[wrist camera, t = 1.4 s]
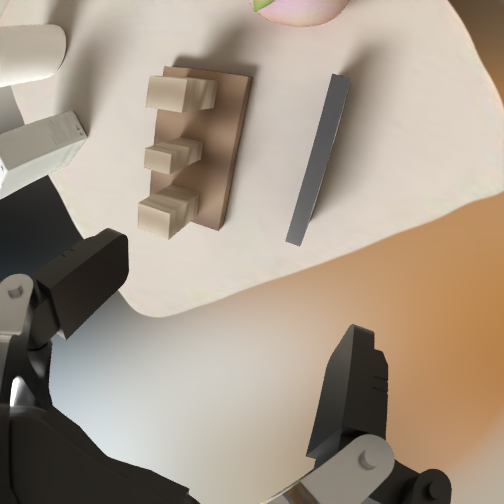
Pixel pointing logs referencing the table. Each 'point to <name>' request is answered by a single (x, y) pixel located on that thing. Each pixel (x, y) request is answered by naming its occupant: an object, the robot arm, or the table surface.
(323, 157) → the dark flat rectangular bar
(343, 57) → the table surface
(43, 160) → the skincare box
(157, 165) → the wooden peg rack
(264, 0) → the decorative fruit
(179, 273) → the table surface
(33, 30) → the wine bottle
